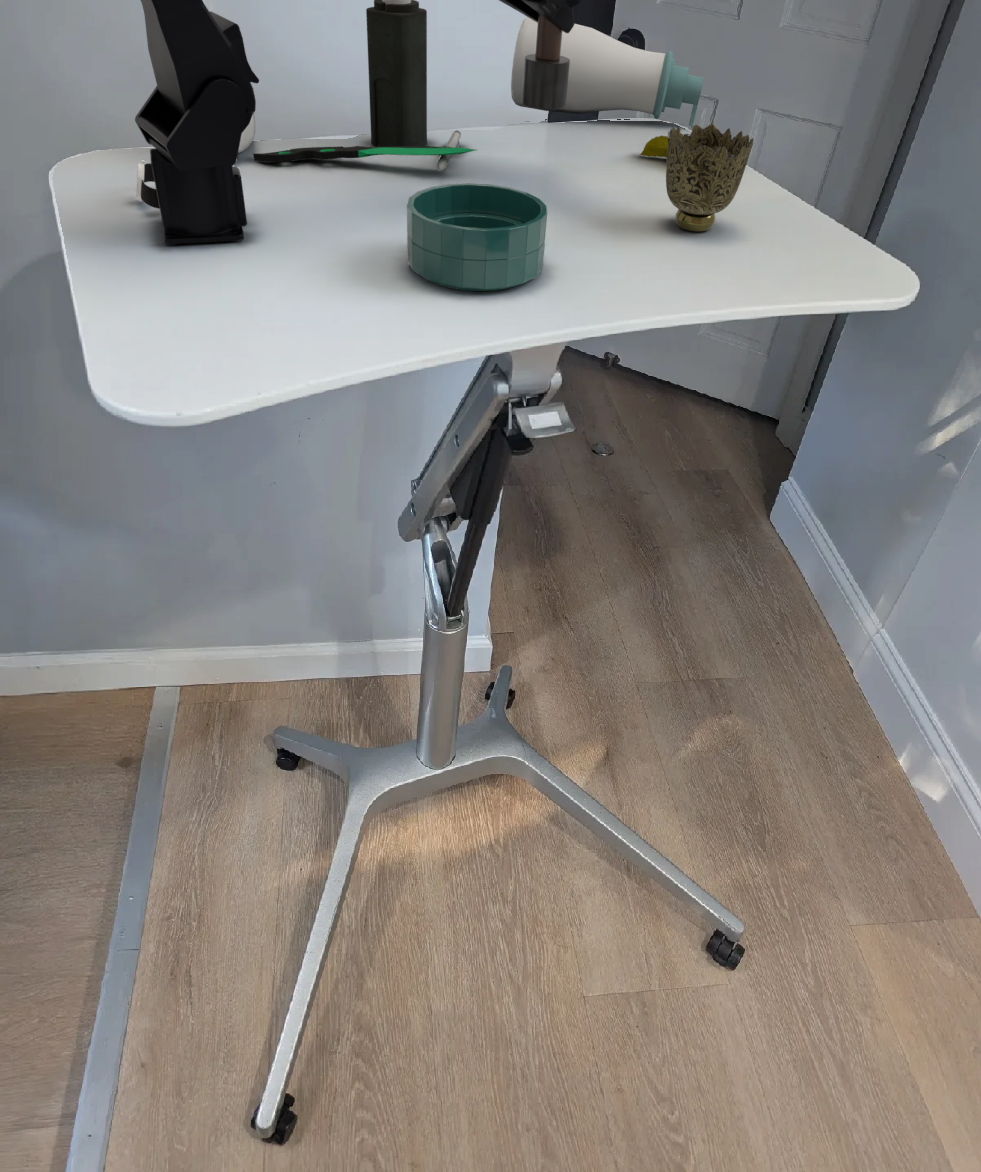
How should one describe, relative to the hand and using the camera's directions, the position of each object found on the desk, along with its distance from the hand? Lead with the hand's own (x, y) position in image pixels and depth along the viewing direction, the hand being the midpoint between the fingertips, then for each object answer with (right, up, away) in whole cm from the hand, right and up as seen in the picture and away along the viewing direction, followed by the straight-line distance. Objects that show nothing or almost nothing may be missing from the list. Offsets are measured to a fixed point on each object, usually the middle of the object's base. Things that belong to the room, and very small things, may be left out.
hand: (560, 26), depth 86 cm
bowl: (-8, -27, -12) cm, 31 cm away
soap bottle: (-4, +11, +25) cm, 28 cm away
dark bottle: (-17, -4, +14) cm, 23 cm away
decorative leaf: (+14, -8, +13) cm, 20 cm away
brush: (-1, -5, +4) cm, 7 cm away
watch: (-37, -19, -4) cm, 41 cm away
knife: (-20, -11, +4) cm, 23 cm away
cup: (+12, -20, -2) cm, 24 cm away
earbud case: (-37, -3, +6) cm, 37 cm away
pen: (-11, -8, +10) cm, 17 cm away
